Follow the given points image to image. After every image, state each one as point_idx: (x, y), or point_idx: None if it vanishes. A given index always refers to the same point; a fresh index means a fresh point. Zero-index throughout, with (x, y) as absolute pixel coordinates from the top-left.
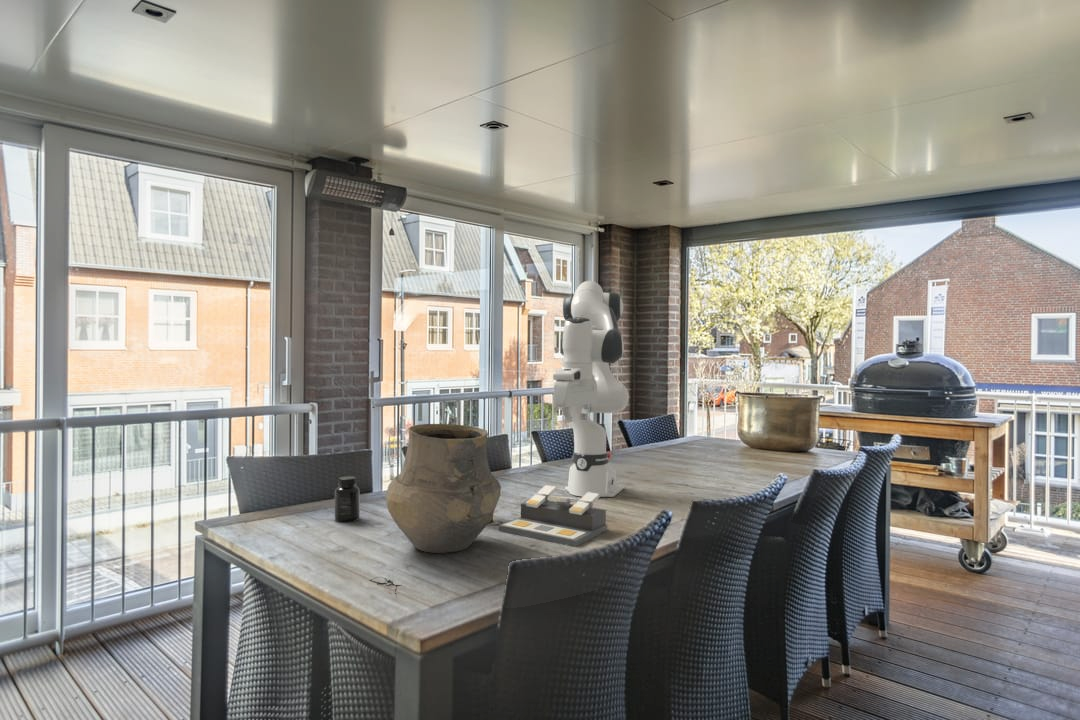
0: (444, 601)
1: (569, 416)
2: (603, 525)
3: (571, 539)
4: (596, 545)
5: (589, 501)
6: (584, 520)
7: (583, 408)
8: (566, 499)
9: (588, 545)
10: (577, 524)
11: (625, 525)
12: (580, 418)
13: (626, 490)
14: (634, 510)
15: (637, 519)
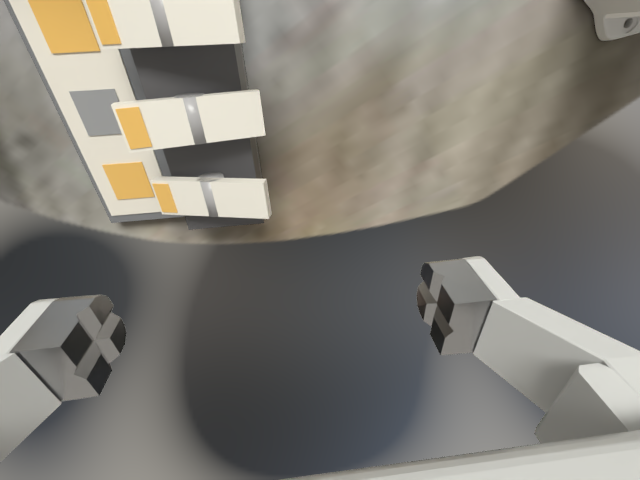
0: None
1: (25, 404)
2: None
3: (108, 212)
4: (161, 239)
5: (216, 212)
6: None
7: (573, 358)
8: (184, 145)
9: (147, 229)
10: None
11: (325, 214)
12: (429, 263)
13: None
14: (460, 168)
15: (385, 210)
